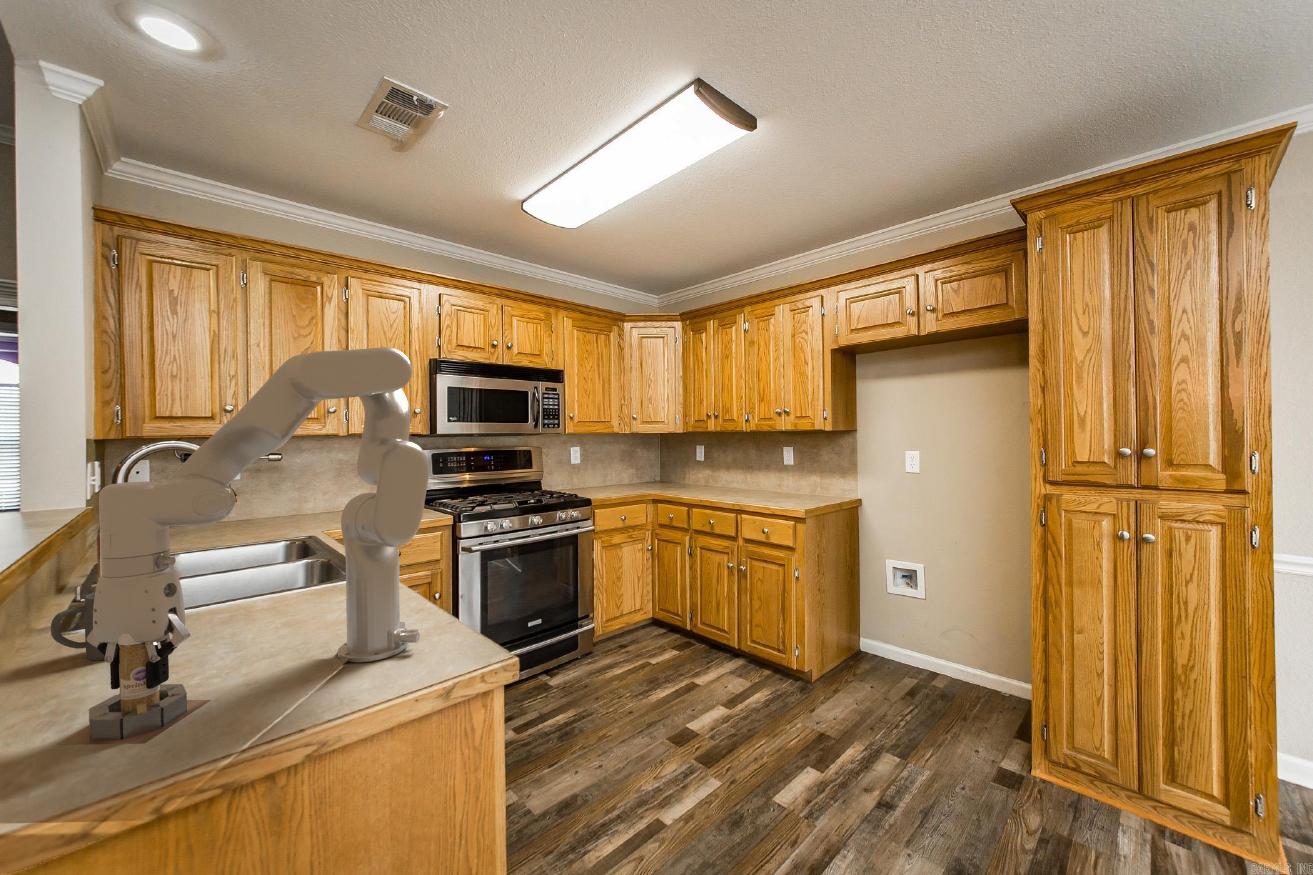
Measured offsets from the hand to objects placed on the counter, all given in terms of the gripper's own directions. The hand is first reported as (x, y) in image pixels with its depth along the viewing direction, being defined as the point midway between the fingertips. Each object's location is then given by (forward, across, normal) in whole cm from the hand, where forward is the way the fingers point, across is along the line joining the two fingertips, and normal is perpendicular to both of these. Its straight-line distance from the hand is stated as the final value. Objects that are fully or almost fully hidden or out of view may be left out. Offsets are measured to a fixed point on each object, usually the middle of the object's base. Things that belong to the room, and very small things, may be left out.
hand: (140, 683), depth 83 cm
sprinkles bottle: (+5, 0, 0) cm, 5 cm away
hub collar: (+6, 0, 0) cm, 6 cm away
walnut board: (+6, 0, 0) cm, 6 cm away
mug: (+7, +30, -26) cm, 40 cm away
